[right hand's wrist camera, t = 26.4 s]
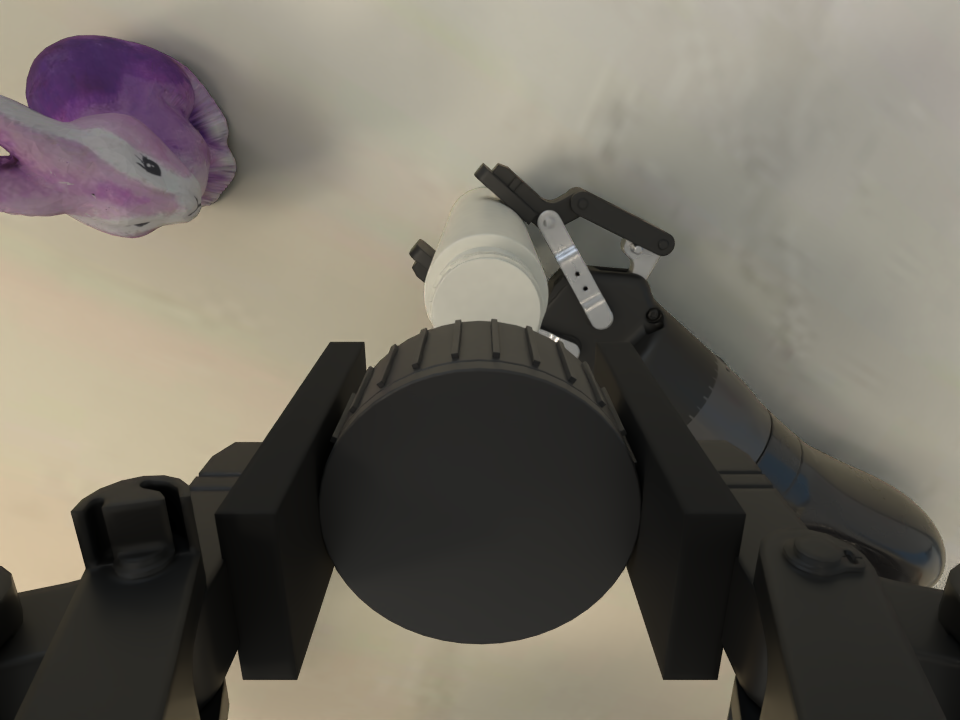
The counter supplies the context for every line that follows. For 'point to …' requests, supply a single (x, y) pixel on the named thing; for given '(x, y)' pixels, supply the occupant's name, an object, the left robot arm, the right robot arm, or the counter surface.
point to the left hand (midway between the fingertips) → (446, 209)
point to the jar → (485, 267)
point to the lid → (480, 486)
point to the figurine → (112, 139)
